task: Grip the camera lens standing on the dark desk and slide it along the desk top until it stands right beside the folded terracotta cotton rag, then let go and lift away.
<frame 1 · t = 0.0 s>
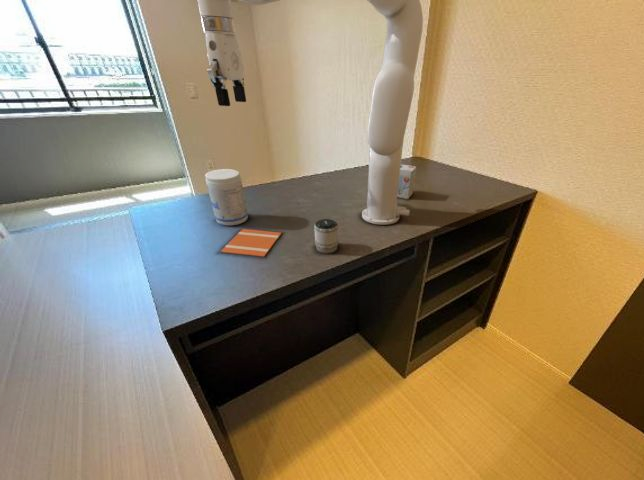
hand: (233, 103, 86), 31 cm above the table, tool pointing down, fingers open, 9 cm apart
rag: (252, 242, 84), on the table
camera lens: (326, 248, 83), on the table
supplement tub: (233, 220, 95), on the table
light bulb box: (397, 194, 117), on the table
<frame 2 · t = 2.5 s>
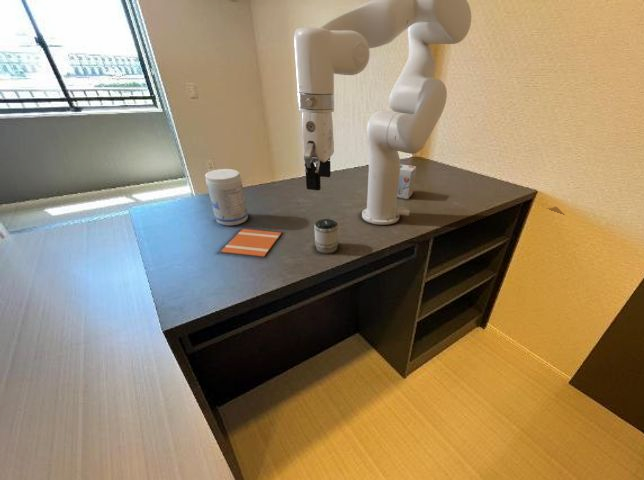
hand: (319, 182, 73), 18 cm above the table, tool pointing down, fingers open, 9 cm apart
nothing on the table moved.
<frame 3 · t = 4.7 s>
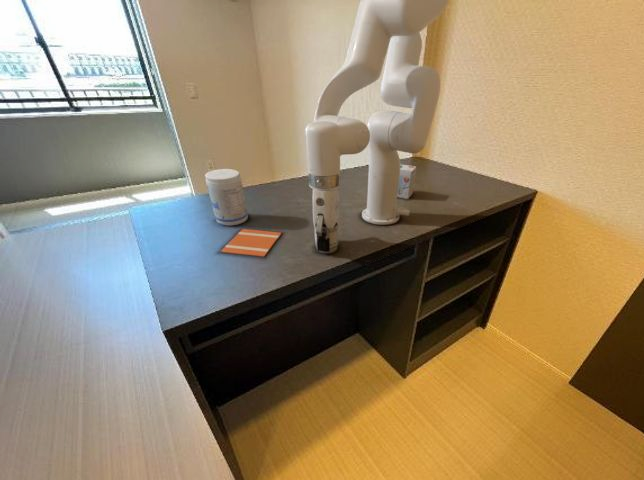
hand: (326, 243, 82), 1 cm above the table, tool pointing down, fingers closed on camera lens, 6 cm apart
camera lens: (326, 248, 83), on the table, touching gripper
everything else where it was.
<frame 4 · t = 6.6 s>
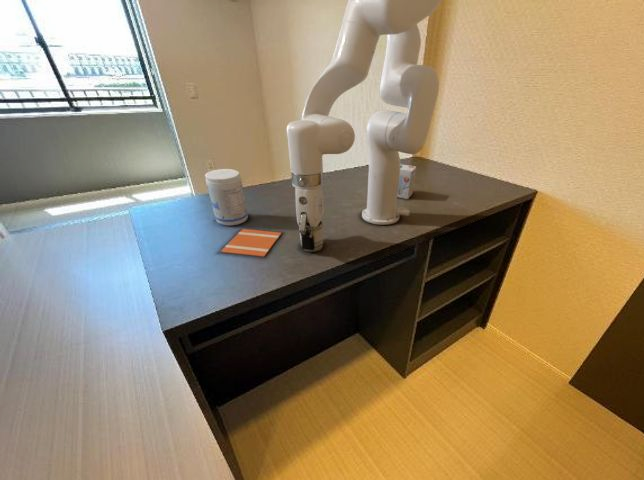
hand: (311, 242, 82), 1 cm above the table, tool pointing down, fingers closed on camera lens, 6 cm apart
camera lens: (312, 247, 83), on the table, touching gripper
everything else where it was.
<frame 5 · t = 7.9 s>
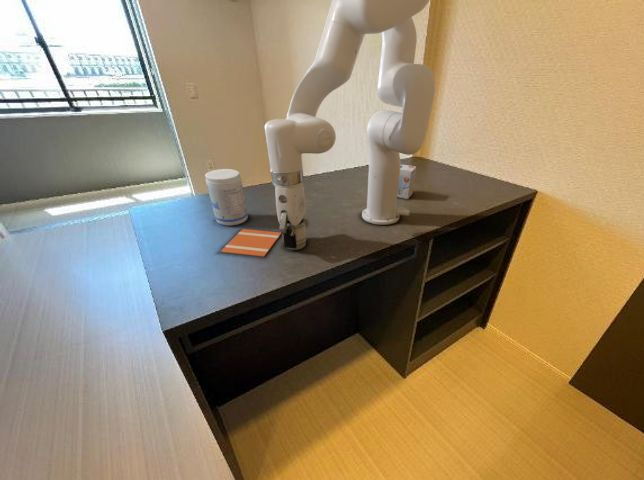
hand: (294, 240, 83), 1 cm above the table, tool pointing down, fingers closed on camera lens, 6 cm apart
camera lens: (295, 245, 84), on the table, touching gripper
everything else where it was.
when the fingers open (1 cm above the table, at t = 8.4 s): camera lens stays where it is, on the table.
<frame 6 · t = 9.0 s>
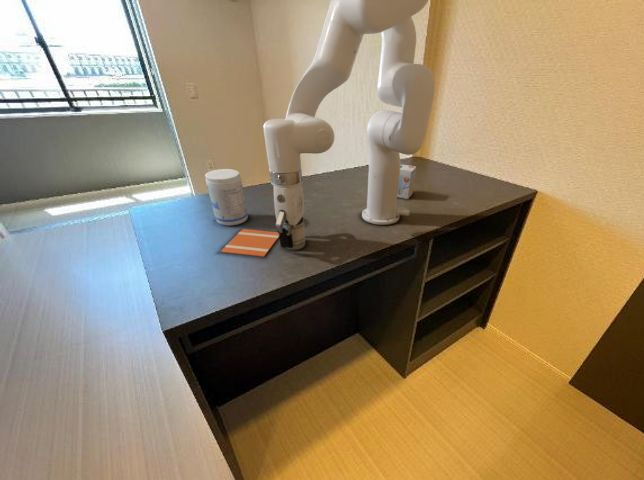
hand: (292, 238, 82), 2 cm above the table, tool pointing down, fingers open, 9 cm apart
camera lens: (294, 245, 84), on the table
everything else where it was.
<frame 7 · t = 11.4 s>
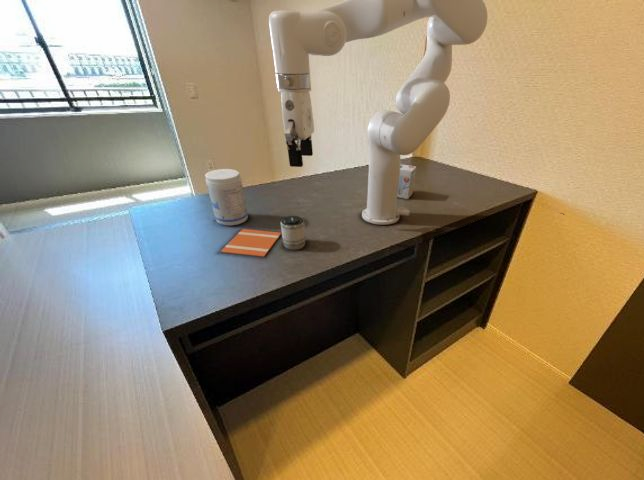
hand: (301, 160, 77), 21 cm above the table, tool pointing down, fingers open, 9 cm apart
nothing on the table moved.
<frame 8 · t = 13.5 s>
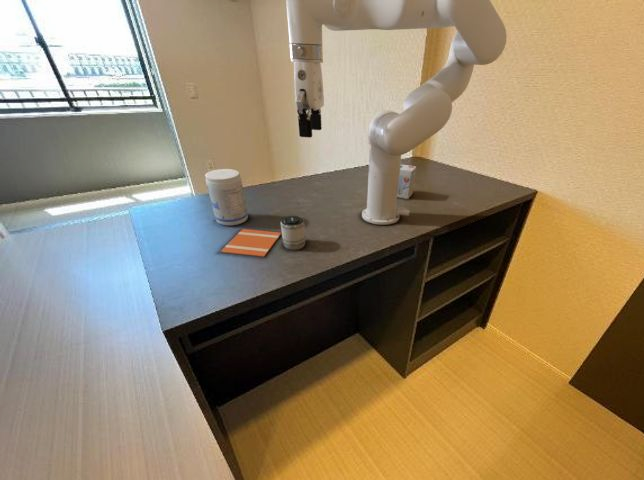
hand: (311, 133, 80), 26 cm above the table, tool pointing down, fingers open, 9 cm apart
nothing on the table moved.
at the end: camera lens inside the target area on the table beside the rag (1.1 cm from its centre), on the table; camera lens tilted 0°; the gripper is holding nothing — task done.
